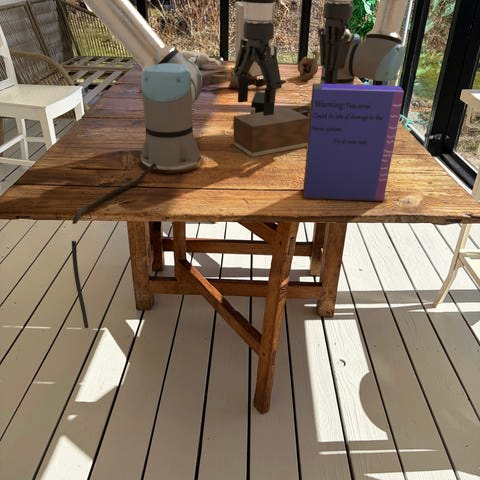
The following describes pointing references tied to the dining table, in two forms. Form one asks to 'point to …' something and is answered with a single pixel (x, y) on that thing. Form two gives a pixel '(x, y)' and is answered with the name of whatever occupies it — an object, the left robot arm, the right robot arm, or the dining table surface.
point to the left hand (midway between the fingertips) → (255, 108)
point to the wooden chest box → (270, 132)
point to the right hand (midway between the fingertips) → (328, 93)
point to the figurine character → (257, 103)
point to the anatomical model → (308, 66)
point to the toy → (199, 58)
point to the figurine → (234, 80)
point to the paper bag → (240, 21)
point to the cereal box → (351, 141)
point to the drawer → (305, 113)
